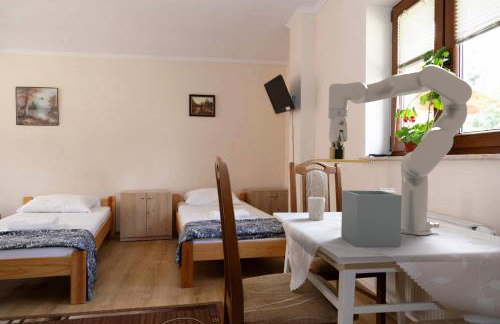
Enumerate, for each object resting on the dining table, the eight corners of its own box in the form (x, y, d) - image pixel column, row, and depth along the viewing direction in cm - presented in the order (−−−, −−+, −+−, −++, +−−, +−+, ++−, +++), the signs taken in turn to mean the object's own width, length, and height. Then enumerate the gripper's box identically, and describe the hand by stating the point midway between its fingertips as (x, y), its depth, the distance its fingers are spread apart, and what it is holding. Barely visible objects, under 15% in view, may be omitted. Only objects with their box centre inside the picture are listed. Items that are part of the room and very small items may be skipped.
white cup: (304, 218, 178) (305, 196, 178) (319, 217, 180) (320, 196, 180) (312, 221, 170) (312, 198, 170) (327, 220, 173) (328, 198, 172)
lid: (353, 161, 158) (354, 147, 158) (369, 162, 142) (369, 146, 142) (316, 161, 156) (316, 146, 156) (327, 162, 140) (327, 146, 140)
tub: (381, 236, 139) (381, 190, 139) (400, 246, 124) (401, 195, 124) (341, 236, 138) (342, 190, 137) (356, 247, 123) (357, 194, 123)
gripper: (354, 112, 147) (352, 159, 147) (340, 116, 163) (339, 159, 164) (335, 112, 146) (334, 159, 146) (323, 116, 163) (322, 158, 163)
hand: (336, 158), depth 155 cm, fingers closed on lid, 4 cm apart
